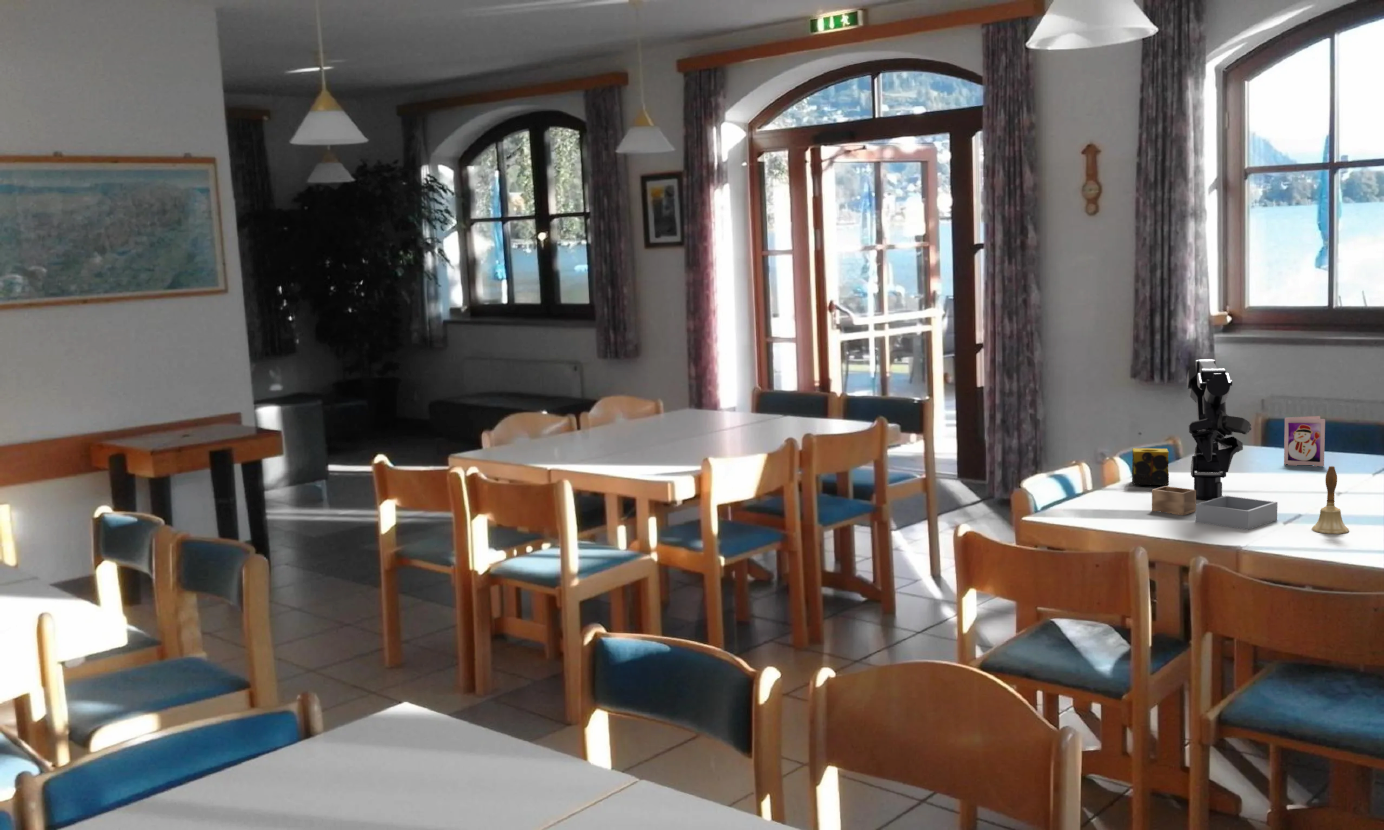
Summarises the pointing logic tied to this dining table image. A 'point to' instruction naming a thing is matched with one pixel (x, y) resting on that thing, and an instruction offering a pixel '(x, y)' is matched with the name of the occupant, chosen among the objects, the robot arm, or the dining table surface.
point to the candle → (1150, 466)
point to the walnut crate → (1174, 500)
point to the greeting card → (1304, 441)
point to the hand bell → (1330, 509)
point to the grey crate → (1236, 512)
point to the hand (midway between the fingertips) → (1217, 466)
